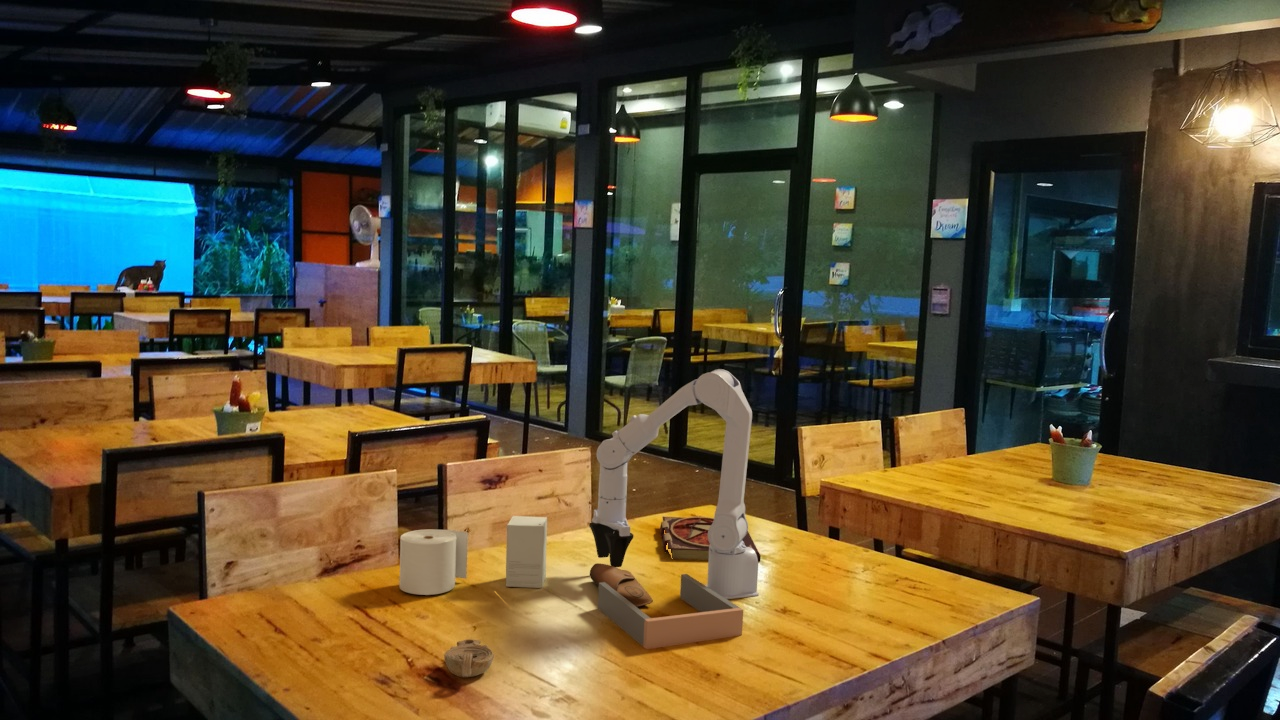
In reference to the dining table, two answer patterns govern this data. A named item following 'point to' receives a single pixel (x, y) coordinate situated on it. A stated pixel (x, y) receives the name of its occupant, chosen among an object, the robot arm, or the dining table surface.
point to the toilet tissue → (432, 560)
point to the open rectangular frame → (672, 630)
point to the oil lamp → (468, 658)
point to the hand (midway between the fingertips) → (609, 561)
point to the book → (692, 537)
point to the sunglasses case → (621, 583)
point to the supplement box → (526, 551)
